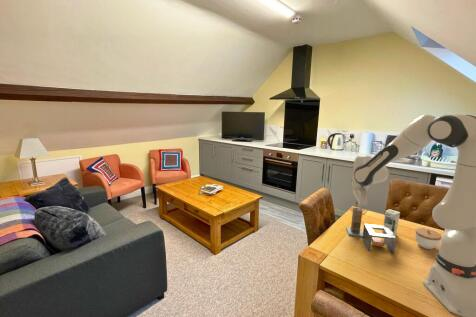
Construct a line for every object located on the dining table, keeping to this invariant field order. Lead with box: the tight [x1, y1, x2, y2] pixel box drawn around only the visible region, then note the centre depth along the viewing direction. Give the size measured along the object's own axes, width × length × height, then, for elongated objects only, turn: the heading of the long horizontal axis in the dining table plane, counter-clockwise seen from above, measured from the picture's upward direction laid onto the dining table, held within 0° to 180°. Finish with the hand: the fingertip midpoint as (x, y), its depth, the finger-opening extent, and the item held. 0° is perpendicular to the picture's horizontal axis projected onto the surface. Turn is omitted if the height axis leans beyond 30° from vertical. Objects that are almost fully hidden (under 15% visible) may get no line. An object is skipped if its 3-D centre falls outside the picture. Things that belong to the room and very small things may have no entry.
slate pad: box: [346, 226, 363, 238], centre depth 140 cm, size 8×8×1 cm
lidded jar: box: [414, 227, 442, 250], centre depth 126 cm, size 11×11×9 cm
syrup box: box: [381, 208, 401, 236], centre depth 137 cm, size 6×6×14 cm
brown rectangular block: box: [350, 207, 363, 234], centre depth 138 cm, size 4×4×14 cm
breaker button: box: [371, 237, 386, 248], centre depth 127 cm, size 5×5×2 cm
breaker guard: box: [361, 223, 397, 255], centre depth 127 cm, size 12×12×9 cm
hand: (358, 206), depth 136 cm, fingers open, 8 cm apart
